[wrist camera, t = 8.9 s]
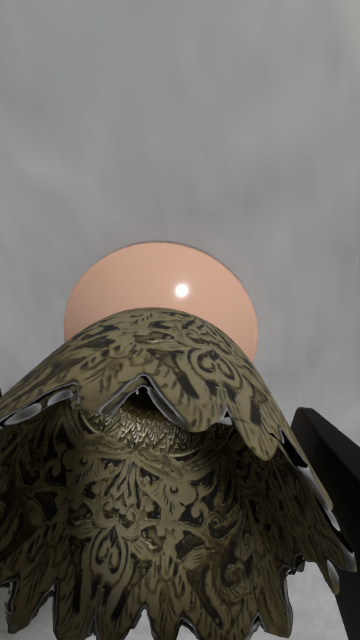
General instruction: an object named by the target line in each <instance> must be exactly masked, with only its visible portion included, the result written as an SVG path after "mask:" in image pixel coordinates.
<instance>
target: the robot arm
mask: <svg viewBox="0 0 360 640" xmlns="http://www.w3.org/2000/svg"><path fill="white" fill-rule="evenodd" d="M1 397H2V394H1V390H0V398H1ZM290 428H291V430H292V432H293V434H294V436H295V437H296V439H297V441H298V443H299V445H300V447H301V448H302V450H303V452H304V454H305V456H306V457H307V459H308V461H309V463H310V465H311V467H312V468H313V470H314V472H315V474H316V475H317V477H318V479H319V480H320V482H321V484H322V485H323V487H324V488H325V490H326V492H327V493H328V495H329V497H330V499H331V502H332V504H333V510H334V512H335V514H336V515H337V517H338V519H339V521H340V523H341V525H342V527H343V529H344V531H345V533H346V535H347V537H348V539H349V541H350V543H351V546H352V549H353V552H354V555H355V559H356V567H357V572H350V571H346V570H343V569H340V568H339V567H338V566H337V565H336V564H335V565H336V568H337V572H338V576H339V593H338V594H337V595H336V594H334V595H335V598H336V601H337V604H338V607H339V611H340V614H341V617H342V620H343V623H344V627H345V630H346V633H347V636H348V639H349V640H360V447H359V446H358V445H357V444H355V443H354V442H353V441H352V440H350V439H349V438H348V437H347V436H346V435H344V434H343V433H342V432H341V431H339V430H338V429H337V428H336V427H335V426H333V425H332V424H331V423H330V422H329V421H327V420H326V419H325V418H324V417H322V416H321V415H320V414H319V413H318V412H316V411H315V410H314V409H312V408H304V407H299V408H297V410H296V412H295V415H294V418H293V421H292V424H291V427H290Z"/></svg>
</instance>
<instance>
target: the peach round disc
mask: <svg viewBox="0 0 360 640" xmlns="http://www.w3.org/2000/svg"><path fill="white" fill-rule="evenodd" d="M147 307H158V308H169V309H175V310H179V311H184V312H187V313H189V314H192V315H195V316H198V317H200V318H202V319H204V320H206V321H208V322H210V323H211V324H213V325H215V326H216V327H218V328H219V329H220V330H222V331H223V332H224V333H226V334H227V335H228V336H229V337H230V338H231V339H232V340H233V341H234V342H235V343H236V344H237V345H238V346H239V347H240V348H241V349H242V351H243V352H244V353H245V354H246V356H247V357H248V358H249V360H250V361H251V362H252V363H253V360H254V357H255V354H256V350H257V343H258V325H257V318H256V314H255V311H254V308H253V305H252V303H251V301H250V299H249V297H248V295H247V292H246V290H245V289H244V287H243V286H242V284H241V283H240V281H239V280H238V278H237V277H236V276H235V275H234V274H233V273H232V272H231V270H230V269H229V268H227V267H226V266H225V265H224V264H223V263H221V262H220V261H219V260H217V259H216V258H214V257H213V256H211V255H209V254H208V253H206V252H203V251H201V250H199V249H197V248H194V247H191V246H188V245H185V244H181V243H175V242H169V241H150V242H140V243H136V244H132V245H128V246H125V247H123V248H120V249H118V250H115V251H114V252H112V253H110V254H108V255H107V256H105V257H103V258H102V259H101V260H100V261H98V262H97V263H96V264H95V265H93V266H92V267H91V268H90V269H89V270H88V271H87V272H86V273H85V274H84V275H83V276H82V277H81V278H80V280H79V281H78V283H77V284H76V286H75V287H74V289H73V291H72V293H71V295H70V297H69V300H68V303H67V307H66V310H65V318H64V334H65V340H66V342H67V341H68V340H69V339H70V338H72V337H73V336H74V335H76V334H77V333H79V332H80V331H82V330H83V329H85V328H86V327H88V326H90V325H91V324H93V323H95V322H97V321H99V320H101V319H103V318H105V317H108V316H110V315H112V314H115V313H118V312H121V311H125V310H130V309H135V308H147Z"/></svg>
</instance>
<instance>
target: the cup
mask: <svg viewBox="0 0 360 640" xmlns="http://www.w3.org/2000/svg"><path fill="white" fill-rule="evenodd" d="M303 558H304V559H303ZM305 561H307V562H315V563H317V565H318V567H319V569H320V571H321V573H322V574H323V577H324V579H325V581H326V583H327V584H328V586H329V588H331V590H332V593H333V594H336V595H337V594H338V593H339V576H338V572H337V568H336V565H337V566H338V567H339V568H340V569H343V570H346V571H350V572H357V567H356V559H355V555H354V552H353V549H352V546H351V543H350V541H349V539H348V537H347V535H346V533H345V531H344V529H343V527H342V525H341V523H340V521H339V519H338V517H337V515H336V514H335V512H334V510H333V504H332V502H331V499H330V497H329V495H328V493H327V492H326V490H325V488H324V487H323V485H322V484H321V482H320V480H319V479H318V477H317V475H316V474H315V472H314V470H313V468H312V467H311V465H310V463H309V461H308V459H307V457H306V456H305V454H304V452H303V450H302V448H301V447H300V445H299V443H298V441H297V439H296V437H295V436H294V434H293V432H292V430H291V428H290V427H289V425H288V423H287V421H286V419H285V418H284V416H283V414H282V412H281V410H280V409H279V407H278V405H277V403H276V402H275V400H274V398H273V396H272V395H271V393H270V391H269V389H268V388H267V386H266V384H265V383H264V381H263V379H262V378H261V376H260V375H259V373H258V371H257V370H256V368H255V367H254V365H253V364H252V362H251V361H250V360H249V358H248V357H247V356H246V354H245V353H244V352H243V351H242V349H241V348H240V347H239V346H238V345H237V344H236V343H235V342H234V341H233V340H232V339H231V338H230V337H229V336H228V335H227V334H226V333H224V332H223V331H222V330H220V329H219V328H218V327H216V326H215V325H213V324H211V323H210V322H208V321H206V320H204V319H202V318H200V317H198V316H195V315H192V314H189V313H187V312H184V311H179V310H175V309H169V308H158V307H147V308H135V309H130V310H125V311H121V312H118V313H115V314H112V315H110V316H108V317H105V318H103V319H101V320H99V321H97V322H95V323H93V324H91V325H90V326H88V327H86V328H85V329H83V330H82V331H80V332H79V333H77V334H76V335H74V336H73V337H72V338H70V339H69V340H68V341H67V342H65V343H64V344H63V345H62V346H60V347H59V348H58V349H56V350H55V351H54V352H53V353H52V354H50V355H49V356H48V357H47V358H46V359H44V360H43V361H42V362H41V363H40V364H39V365H37V366H36V367H35V368H34V369H33V370H32V371H30V372H29V373H28V374H27V375H26V376H25V377H24V378H22V379H21V380H20V381H19V382H18V383H17V384H16V385H14V386H13V387H12V388H11V389H10V390H9V391H8V392H6V393H5V394H4V395H3V396H2V397H1V398H0V588H2V587H5V588H10V583H9V582H12V584H13V585H12V591H11V595H10V597H9V601H8V603H6V602H5V608H6V610H7V612H6V611H5V612H6V621H7V624H8V633H10V634H15V633H17V632H18V631H20V630H22V629H24V628H25V627H27V626H28V625H29V623H30V621H31V620H32V619H33V618H34V617H35V616H36V615H37V613H38V612H39V609H40V608H41V607H42V606H43V605H44V604H45V602H46V601H47V600H48V598H49V597H52V596H53V605H52V606H53V607H52V610H53V613H52V614H53V632H54V634H55V636H56V638H57V640H85V639H86V638H88V637H90V636H92V634H94V636H95V635H96V640H124V639H125V637H126V636H127V634H128V633H129V631H130V629H134V628H135V627H136V625H137V623H138V621H139V620H140V617H141V616H142V615H141V613H142V611H143V610H144V609H146V610H147V616H148V619H149V622H150V627H151V634H152V636H153V639H154V640H176V639H177V636H178V632H179V628H180V627H181V626H182V625H183V626H184V627H187V628H188V629H189V630H190V631H191V632H192V633H193V634H194V635H195V636H196V638H197V639H198V640H250V639H251V637H252V635H253V633H254V632H256V631H257V629H258V627H259V626H261V627H262V628H263V629H264V632H267V633H270V634H273V635H276V636H279V637H284V638H289V637H290V635H291V631H292V625H293V611H292V607H291V604H290V602H289V597H288V590H287V580H286V577H287V576H288V574H289V575H291V574H292V575H294V574H295V573H296V571H298V572H303V571H304V567H305ZM335 564H336V565H335ZM294 568H295V569H294ZM290 569H291V571H289V570H290ZM288 571H289V572H288ZM287 572H288V573H287ZM286 573H287V575H286ZM53 584H54V590H51V591H50V592H48V591H49V590H50V588H51V587H52V585H53ZM8 591H9V592H8V594H10V590H8ZM47 592H48V593H47ZM46 593H47V595H46ZM45 595H46V596H45ZM44 596H45V597H44ZM42 599H43V600H42ZM183 621H185V622H183ZM186 622H187V623H186ZM188 623H189V624H188ZM190 624H191V625H192V626H193V627H194V628H195V630H194V628H193V627H192V626H191V625H190Z"/></svg>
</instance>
